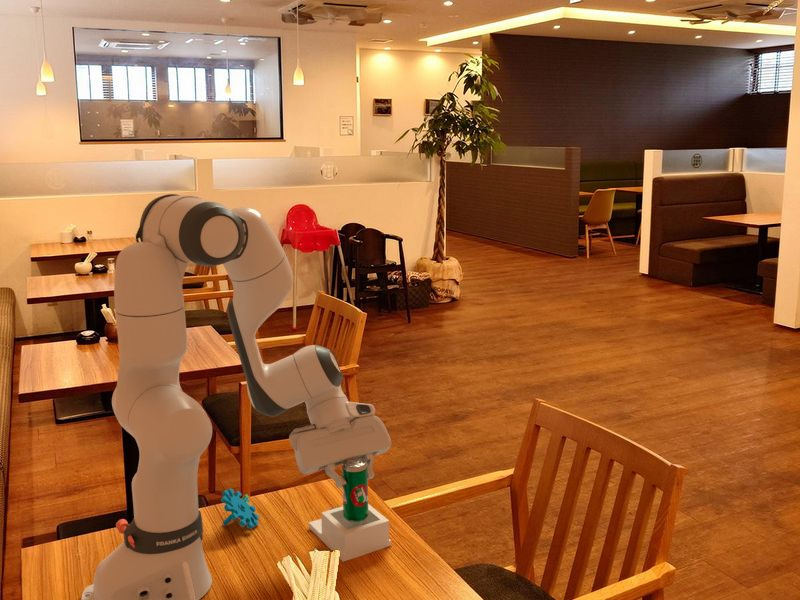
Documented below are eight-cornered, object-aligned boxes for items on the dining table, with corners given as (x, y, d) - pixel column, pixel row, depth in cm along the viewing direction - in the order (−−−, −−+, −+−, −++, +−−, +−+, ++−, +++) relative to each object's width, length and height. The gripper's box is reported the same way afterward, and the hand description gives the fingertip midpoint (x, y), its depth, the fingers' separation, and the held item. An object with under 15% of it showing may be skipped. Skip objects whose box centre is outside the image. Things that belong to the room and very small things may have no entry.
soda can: (346, 510, 158) (344, 455, 155) (370, 511, 157) (369, 457, 154) (340, 522, 153) (339, 466, 150) (365, 524, 152) (364, 468, 150)
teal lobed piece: (253, 531, 157) (219, 496, 157) (233, 550, 157) (199, 515, 157) (267, 511, 168) (235, 478, 168) (248, 529, 168) (216, 496, 168)
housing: (343, 561, 149) (342, 535, 148) (308, 527, 162) (308, 502, 160) (391, 545, 155) (391, 520, 154) (354, 513, 167) (354, 489, 166)
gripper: (290, 424, 151) (314, 490, 145) (380, 403, 161) (405, 464, 156) (282, 437, 155) (304, 501, 150) (369, 416, 166) (393, 475, 160)
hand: (356, 482), depth 153 cm, fingers closed on soda can, 5 cm apart
